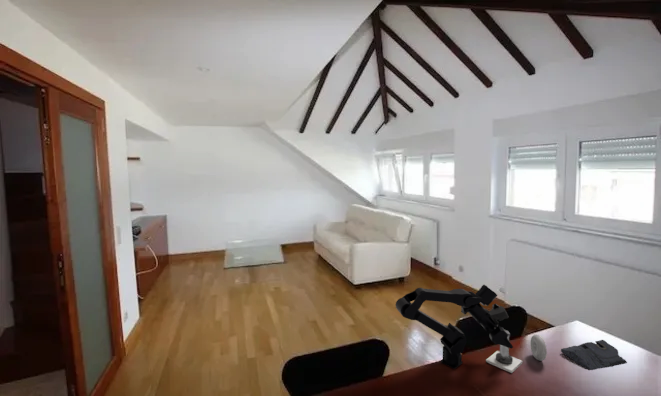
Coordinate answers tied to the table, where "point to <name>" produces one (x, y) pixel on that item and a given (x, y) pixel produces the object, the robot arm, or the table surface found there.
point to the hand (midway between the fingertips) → (508, 341)
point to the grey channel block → (504, 354)
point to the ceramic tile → (509, 368)
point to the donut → (538, 347)
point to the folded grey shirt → (594, 355)
